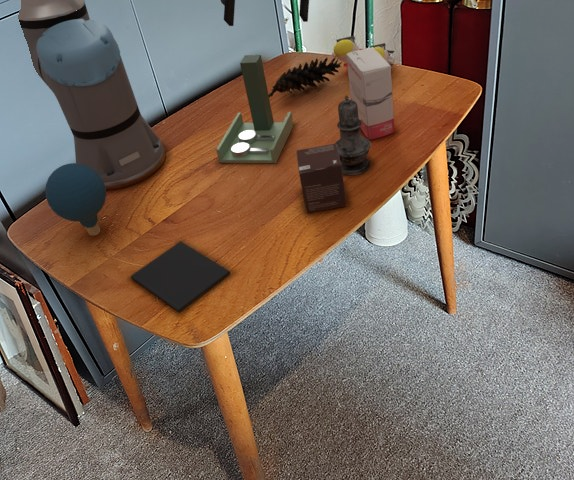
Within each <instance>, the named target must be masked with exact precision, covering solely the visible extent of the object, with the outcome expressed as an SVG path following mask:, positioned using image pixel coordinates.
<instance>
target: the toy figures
mask: <svg viewBox="0 0 574 480" xmlns="http://www.w3.org/2000/svg"><path fill="white" fill-rule="evenodd" d="M355 40H356V37H355V35H351V36H346V37H343V38H338V39H335V41H336V43H335V45H333V48H332V49H333V51H332V53H331V56H332V57H333V58H336V60H337V59H338V60H340V61H341V62H342V63H343V67H346V68H348V65H347V55H346V54H347V53H349V52H353V51H358V50H363V49H364V48H359V47H360V46H359V45H358V44H357V42H356V41H355ZM386 46H387V45H386V42H383V43H378V44H375V45H370V46H368V48H371V47H373V48H374V49H375V50H376V51H377V52H378V53H379V54H380V55H381V56H382V57H383V58H384V59H385V60H386V61H387V63H388V64H389V65H390V66H391V68H393V66H394V64H395V62H396V56H395V55H394V53H395V52H396V51H395V50H390V49H389V50H388V49H386Z"/></svg>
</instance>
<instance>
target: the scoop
mask: <svg viewBox="0 0 574 480" xmlns="http://www.w3.org/2000/svg"><path fill="white" fill-rule="evenodd" d="M239 65H240V70H241V75H242V78H243V83H244V88H245V93H246V99H247V102H248V106H249V112H250V115H251V121H252V122H244V120H243V115H242V112H237V113H236V115H235V117H234V118H233V120H232V122H231V123H230V125H229V127H228V129H227V130H226V132H225V134H224V135H223V137H222V139H221V140H220V142H219V144H218V145H217V147H216V149H215V151H216V154H217V159H218V163H219V164H221V163H222V164H225V163H227V164H228V163H229V164H276V163H277V161H278V159H279V157H280V155H281V153H282V151H283V149H284V147H285V144H286V142H287V140H288V138H289V136H290V134H291V132H292V129H293V127H294V119H293V113H292V111H288V112H287V114H286V115H285V118H284V120H283V121H274V117H273V111H272V106H271V100H270V98H269V90H268V85H267V81H266V75H265V70H264V64H263V58H262V55H261V54H247V55H244V57H243V58H242V59H241V61H240V62H239ZM246 130H253V131H255V132H256V133H257V135H275V140H274V141H255V142H254V143H252V144H249V145H250V148H268V149H269V152H268V154H249V155H247V156H245V157H241V158H236V157H234V156H233V155H232V152H231V148H232V146H233V145H235V144H237V143H240V142H239V138H238V135H239V134H240V133H241V132H243V131H246Z"/></svg>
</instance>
